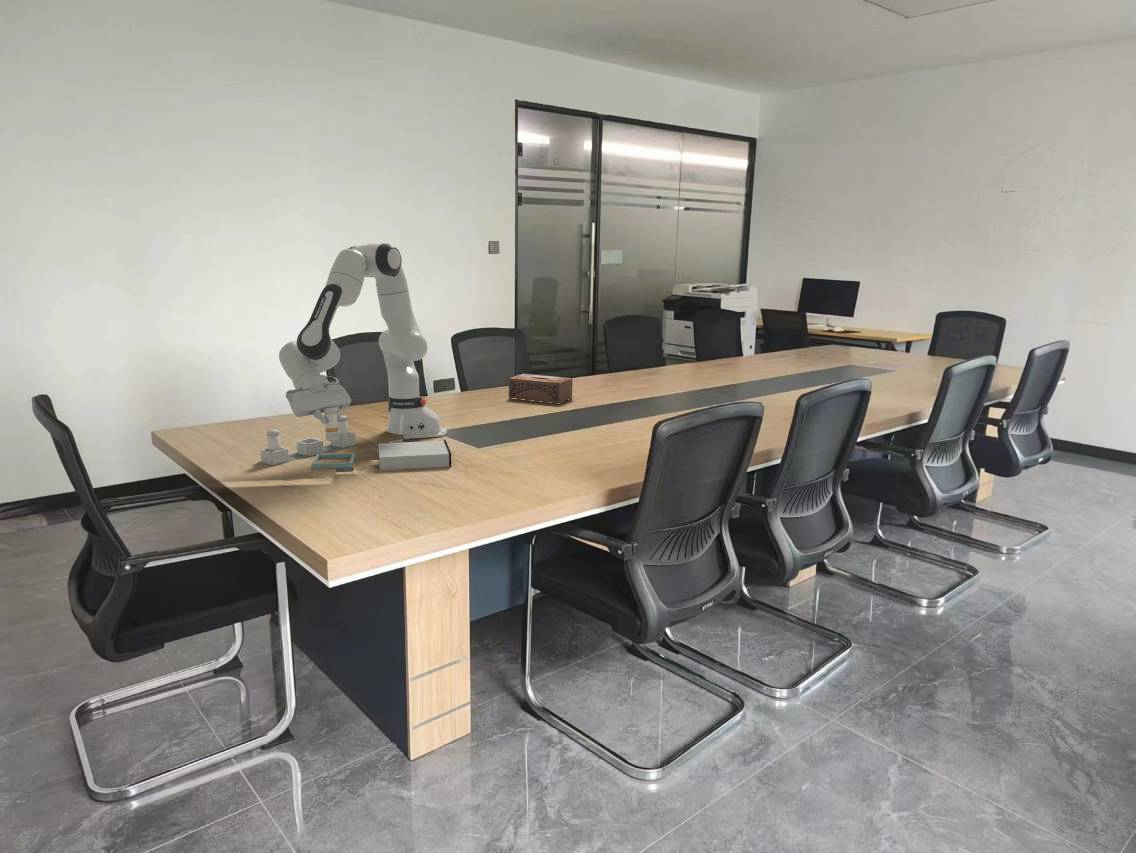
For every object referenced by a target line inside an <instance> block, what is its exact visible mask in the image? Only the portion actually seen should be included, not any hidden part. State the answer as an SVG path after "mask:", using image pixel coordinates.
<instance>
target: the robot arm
mask: <svg viewBox="0 0 1136 853" xmlns="http://www.w3.org/2000/svg"><path fill="white" fill-rule="evenodd" d="M402 261H403V260H402V256H401V252H400V250H398V248H397V247H396V246H395V245H393V244H391V243H368V244H362V245H358V246H357V245H353V246H351V247H348V248H346V249H342V250H341V251H340V252H339V253H338V255H337V256H336V258H335V259H334V262H333V263H332V267H331V268H330V271H329V274H328V277H327V280H326V283H325V285H324V288H323V289H322V291H321V292H320V295H319V297H318V298H317V301H316V304H315V306H314V308H313V311H312V313H311V315H310V317H309V320H308V321H307V323H306V325H305V326H304V327H303V328H302V329H301V330H300V332H299V334H298V335H297V336H296V338H297V339H296V341H295V340H294V341H289V342H287V343H286V344H284V345H283V346H282V347H281V349H280V350H279V353H278V359H279V362H280V364H281V367H282V368H283V370H284V373H285V375H287V377H288V378H289V379H290V380H291V382H292V385H293V387H294V389H290V390H287V391H286V392H285V395H284V396H285V398H286V400H287V401H288V404H289V406H290V409H291V411H292V413H293V414H294V416H296V417H297V418H302V417H309V416H311V415H313V416H314V418H315V419H317V420H319V421H320V422H321V424H322V425H326V424H327V423H328V422H329V420H328V418H327V416H326V417H325V415H323V414H325V408H328V407H336V408H337V421H341V419H342V417H341V416H340V415H341V414H340V413H341V410H345V409H348V408H349V407H350V405H351V404H352V397H351V396H350V395H349V393H348V392H347V390H346V389H345V387H344V386H342V385H341V384H339V383H340V380H339V379H338V378H337V377H335V376H329V375H325V374H321V373H323V372H327V371H328V370H331V369H333V368H335V367H336V366H337V365H338V364H339V362H340V360H341V356H342V354H341V349H340V348H339V347H338V345H337V344H336V343H335V341H334V340H333V339H332V337H331V334H330V327H331V325H332V323H333V320H334V317H335V315H336V312H337V310H338V309H339V307H342V308H344V307H345V308H346V307H349V306H352V305H354V304H355V303H356V302H357V300H358V298H360V297H359V296H360V295H361V291H362V288H363V284H364V280H365V278H374V279H375V287H376V292H377V293H376V294H377V298H378V299H377V300H378V304H379V308H380V309H379V310H380V314H381V317H382V319H383V321H384V322H385V324H386V326H387V328H388V329H385V330H383V331H382V332H381V333H380V335H379V337H378V345H379V348H380V350H381V351H382V356H383V359H384V363H385V368H386V372H387V379H388V380H387V381H388V396H387V410H388V421H387V427H386V432H387V433H391V434H395V435H402V436H403V437H402V439H403V440H409V439H410V440H411V439H423V438H424V439H425V438H426V439H427V438H440V437H444V436H446V435H447V432H448V430H447V428H446V427H445V426H442V423H441V420H440V417H439V415H438V414H437V413H436V412H435V411H433V410H432V409H430V408H429V407H428V406H426V404H427V400H426V399H425V397H424V396H421V395H420V377H419V373H418V371H417V369H416V366H415V363H414V362H415V361H420V360H421V359H423V358H424V357H425V355H427V352H428V342H427V341H426V339H425V337H424V336H423V334H422V333H421V330H420V328H419V324H418V323H417V319H416V317H415V315H414V312H413V306H412V303H411V298H410V292H409V291H410V290H409V286H408V281H407V278H406V274H405V272H404V271H405V270H404V269H403V267H402ZM322 413H323V414H322Z"/></svg>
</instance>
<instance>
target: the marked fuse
mask: <svg viewBox="0 0 1136 853" xmlns="http://www.w3.org/2000/svg"><path fill="white" fill-rule="evenodd" d="M326 416H327V418H328V420H329V422H328V423H327V424H325V427H324V428H325V441H327V442H328V441H329V442H331V441H336V440H338V424H337V408H336V407H328V408H325V412H324V417H326Z"/></svg>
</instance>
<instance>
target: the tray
mask: <svg viewBox="0 0 1136 853" xmlns="http://www.w3.org/2000/svg"><path fill="white" fill-rule="evenodd" d="M320 459H321V460H323V459H326V460H327V459H350V460H349V462H348V461H347V462H323V463H321V462H320V463H318V462H319V460H320ZM355 459H356V452H349V453H348V452H346V453H345V452H344V453H342V452H341V453H322V454H317V455H315V457H314V459H313V461H312V463H311V469H335V473H349V472H350V473H351V472H353V470H354V467H353V466H354V462H355Z"/></svg>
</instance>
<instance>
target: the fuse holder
mask: <svg viewBox="0 0 1136 853" xmlns="http://www.w3.org/2000/svg"><path fill="white" fill-rule="evenodd" d="M356 445H357V446H358V445H359V443H357V442H356V433H355V432H352V431H349V430H348V435H343V436H340V435H338V440H336V441H330V444H328V445H324V441H323V440H322V439H319V438H314V437H309V438H305V439H300V440H297V441H296V447H297V448H296V450H297V452H293V453H289V449H288V447H283V446H280V450H279V451H274V452H270V451H268V447H265V448H260V461H257V463H259V464H261V465H266V466H269V467H272V466H277V465H280V464H285V463H288V462H292V461H293V462H294V461H296V460H297V461H298V460H301V459H305V458H309V457H313V456H316V455H317V454H327V453H329V452H334V451H337V450H341V449H345V448H349V447H350V448H351V447H353V446H356Z"/></svg>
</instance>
